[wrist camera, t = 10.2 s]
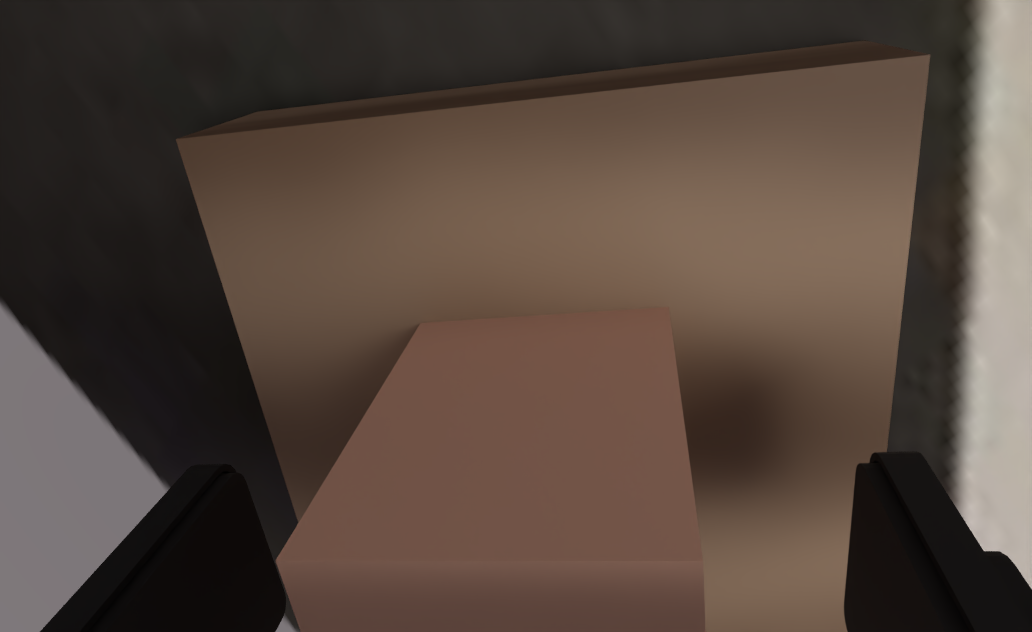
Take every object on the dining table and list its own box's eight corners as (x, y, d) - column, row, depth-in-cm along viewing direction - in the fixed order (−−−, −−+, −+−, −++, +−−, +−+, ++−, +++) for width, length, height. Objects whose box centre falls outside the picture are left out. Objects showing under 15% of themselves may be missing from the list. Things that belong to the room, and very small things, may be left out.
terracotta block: (421, 323, 13) (275, 561, 8) (668, 306, 12) (703, 560, 7) (460, 514, 15) (367, 816, 9) (679, 511, 14) (712, 841, 9)
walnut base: (257, 111, 15) (175, 139, 12) (865, 40, 13) (930, 55, 10) (374, 548, 20) (335, 637, 17) (827, 550, 18) (864, 653, 15)
